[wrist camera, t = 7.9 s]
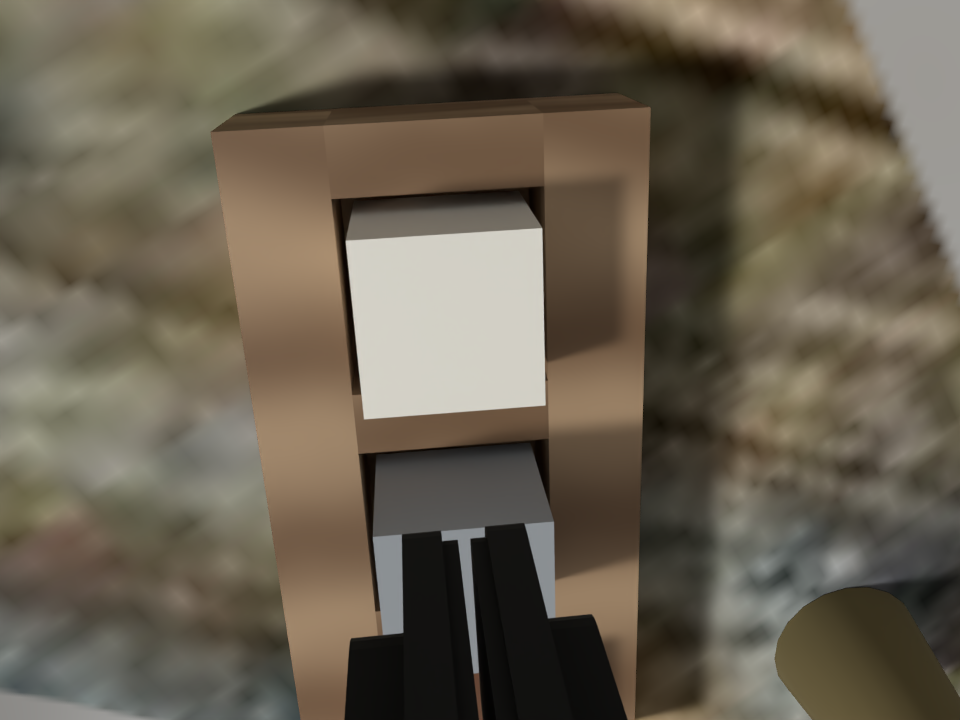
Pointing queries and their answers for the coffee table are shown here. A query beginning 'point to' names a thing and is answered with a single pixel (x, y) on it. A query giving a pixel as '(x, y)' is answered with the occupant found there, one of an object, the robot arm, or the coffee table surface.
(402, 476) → the grey cube
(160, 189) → the coffee table surface
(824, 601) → the cork
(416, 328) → the key ivory
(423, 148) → the wooden slotted tray
